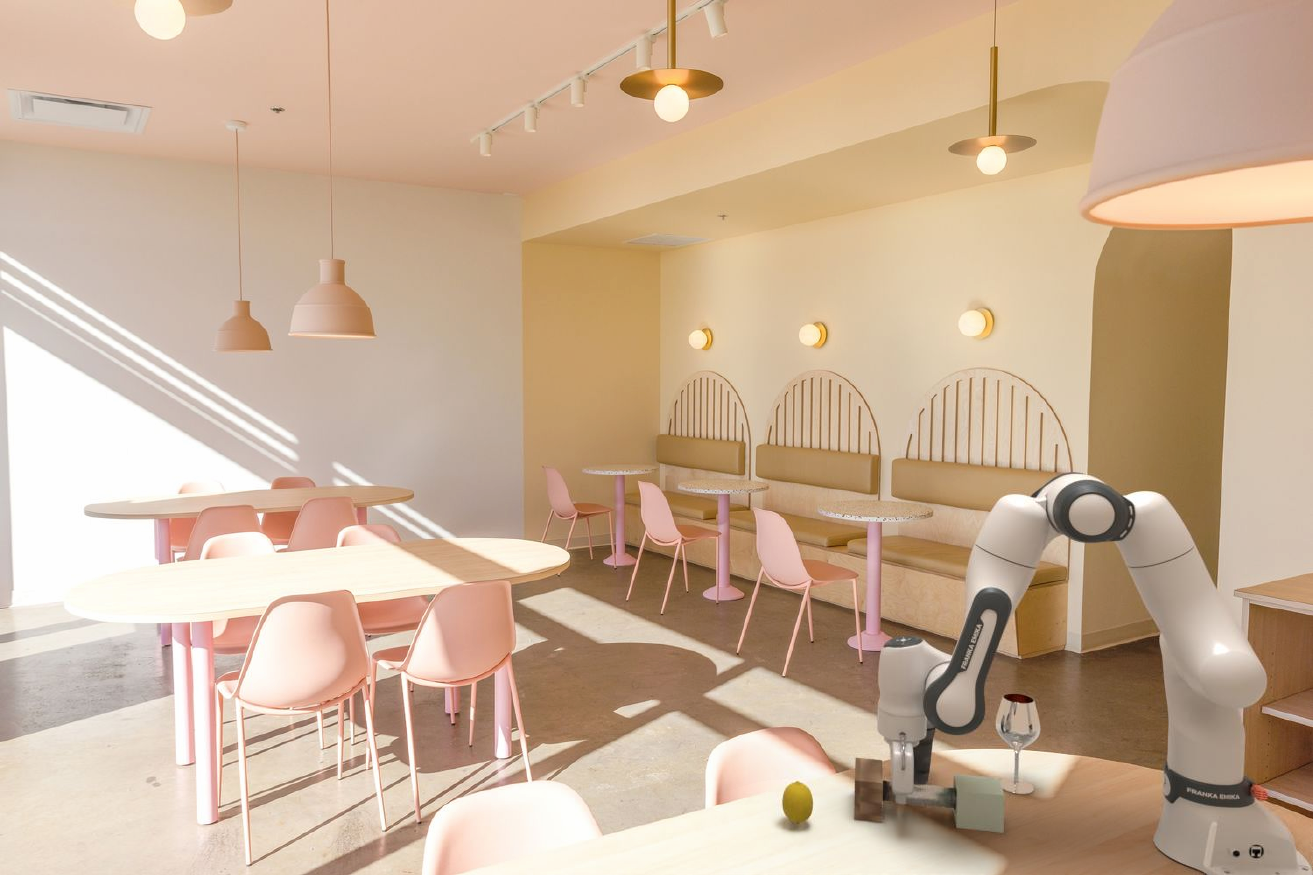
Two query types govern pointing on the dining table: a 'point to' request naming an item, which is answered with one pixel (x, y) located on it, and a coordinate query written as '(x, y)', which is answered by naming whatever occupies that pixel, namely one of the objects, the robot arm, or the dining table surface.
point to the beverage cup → (923, 756)
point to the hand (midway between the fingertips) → (900, 795)
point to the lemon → (797, 802)
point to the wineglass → (1017, 733)
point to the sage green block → (979, 803)
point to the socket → (868, 790)
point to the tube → (924, 795)
